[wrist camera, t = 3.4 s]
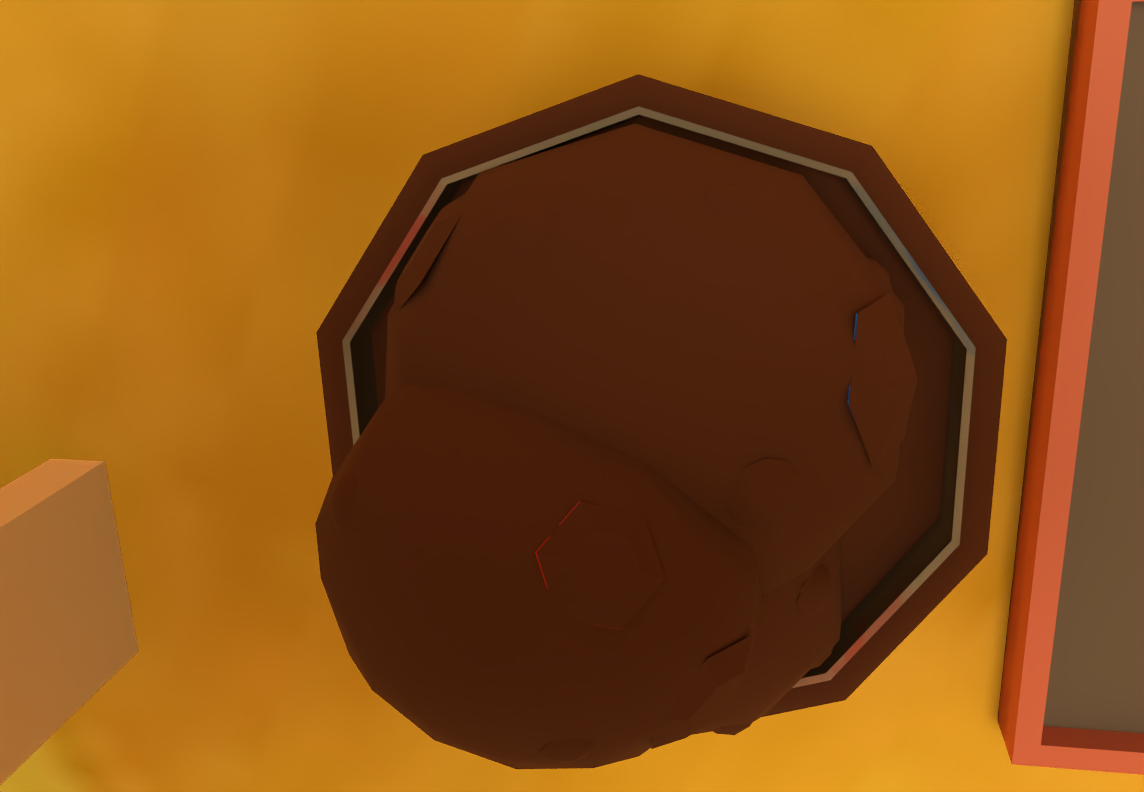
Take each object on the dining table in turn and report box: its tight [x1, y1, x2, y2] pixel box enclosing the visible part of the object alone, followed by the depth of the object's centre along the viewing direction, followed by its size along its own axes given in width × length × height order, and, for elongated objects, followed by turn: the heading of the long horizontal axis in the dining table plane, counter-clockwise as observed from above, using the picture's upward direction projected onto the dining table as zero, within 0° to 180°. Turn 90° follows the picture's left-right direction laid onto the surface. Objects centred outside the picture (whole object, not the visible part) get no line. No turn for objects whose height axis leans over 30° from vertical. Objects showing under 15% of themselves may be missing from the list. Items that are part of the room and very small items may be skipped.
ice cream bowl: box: [316, 75, 1007, 769], centre depth 19 cm, size 11×11×15 cm
